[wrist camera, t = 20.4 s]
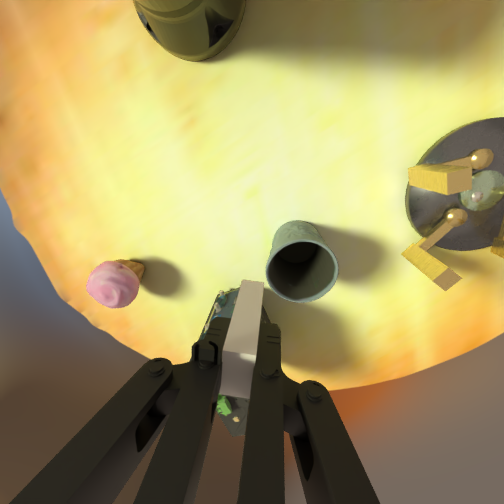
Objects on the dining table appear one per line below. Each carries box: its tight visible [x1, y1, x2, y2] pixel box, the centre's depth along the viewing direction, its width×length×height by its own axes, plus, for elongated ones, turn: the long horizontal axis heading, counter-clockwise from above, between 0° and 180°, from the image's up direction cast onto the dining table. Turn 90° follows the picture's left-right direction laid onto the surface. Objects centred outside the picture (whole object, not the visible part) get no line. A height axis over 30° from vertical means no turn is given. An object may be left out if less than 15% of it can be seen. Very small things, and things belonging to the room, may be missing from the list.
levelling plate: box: [405, 117, 504, 251], centre depth 39 cm, size 20×20×2 cm
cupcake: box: [86, 259, 145, 308], centre depth 47 cm, size 9×9×10 cm
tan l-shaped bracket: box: [408, 149, 494, 195], centre depth 33 cm, size 11×3×10 cm, turn 106°
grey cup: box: [266, 221, 339, 303], centre depth 41 cm, size 10×10×12 cm
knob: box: [401, 208, 468, 291], centre depth 37 cm, size 11×3×10 cm, turn 144°
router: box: [190, 285, 271, 437], centre depth 45 cm, size 8×18×20 cm, turn 23°
